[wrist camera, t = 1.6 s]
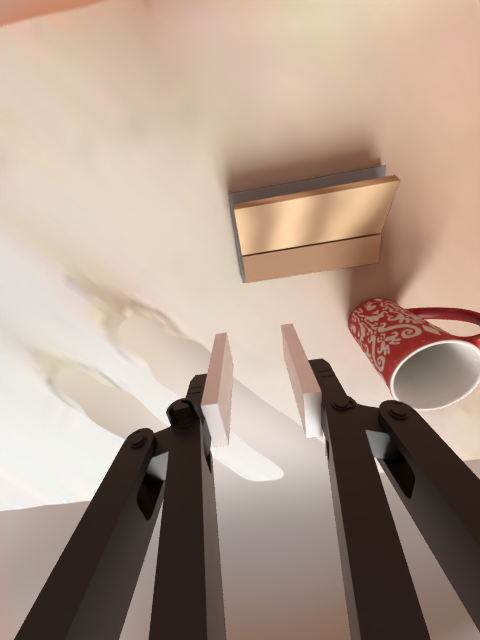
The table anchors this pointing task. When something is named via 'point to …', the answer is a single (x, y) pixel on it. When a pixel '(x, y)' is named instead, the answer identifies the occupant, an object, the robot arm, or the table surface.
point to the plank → (315, 215)
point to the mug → (418, 352)
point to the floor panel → (310, 255)
